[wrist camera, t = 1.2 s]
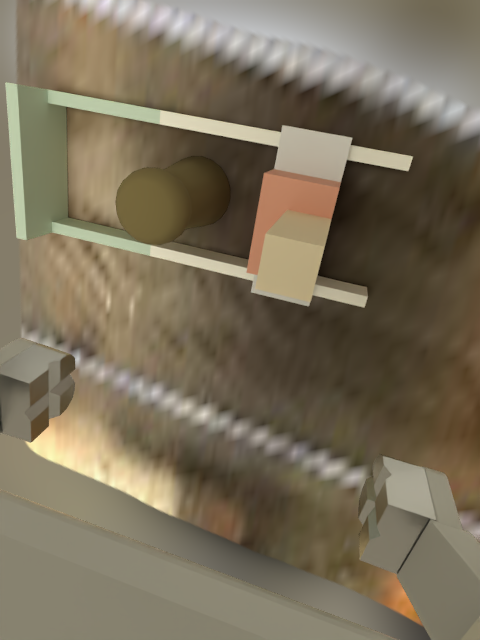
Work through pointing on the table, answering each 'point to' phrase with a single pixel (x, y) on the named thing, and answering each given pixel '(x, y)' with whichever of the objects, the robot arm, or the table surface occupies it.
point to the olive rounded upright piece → (172, 199)
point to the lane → (52, 216)
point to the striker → (296, 213)
